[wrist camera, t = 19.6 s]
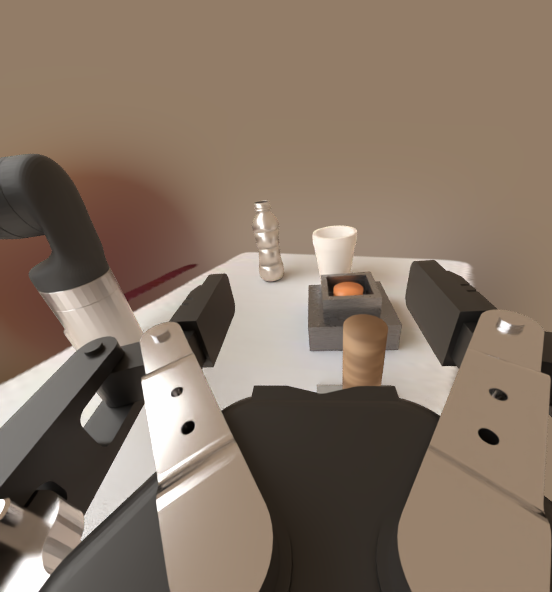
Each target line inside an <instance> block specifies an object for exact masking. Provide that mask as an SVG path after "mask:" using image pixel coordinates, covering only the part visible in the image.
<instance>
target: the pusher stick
mask: <svg viewBox="0 0 552 592" xmlns="http://www.w3.org/2000/svg"><path fill="white" fill-rule="evenodd" d="M387 334H388V326H387V324H386V323H385V322H384V321H383V320H382V319H380V318H378V317H376V316H373V315H368V314H358V315H353V316H351V317H349V318H347V319H346V320H345V321H344V324H343V386H342V389H347V388H351V387H355V386H381V381H382V373H383V366H384V358H385V350H386V342H387Z"/></svg>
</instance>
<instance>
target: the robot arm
mask: <svg viewBox="0 0 552 592" xmlns="http://www.w3.org/2000/svg"><path fill="white" fill-rule="evenodd" d="M41 235H45V236H46V238H47V240H48V242H49V244H50V247H51V249H52V253H51V255H50V256H49V258H48V259H46V260H44V261H43V262H41V263H39V264H37V265H36V266H34V267H33V268H32V269H31V270H30V272H29V277H30V280H31V281H32V283H33V284H34V286H35V287H36V289H37V290H38V291H39V293H40V294H41V296H42V297H43V298H44V300H45V301H46V303H47V304H48V306H49V307H50V308H51V309H52V311H53V312H54V314H55V315H56V317H57V318H58V319H59V321H60V322H61V324H62V325H63V327H64V328H65V330H64V334H65V335H66V337H67V338H68V340H69V341H70V342H71V344H72V345H73V347H74V348H75V349H76V352H75V353H74V354H73V355H72V356H71V357H70V358H69V359H68V360H67V361H66V362H65V363H64V364H63V365H62V366H61V367H60V368H59V369H58V370H57V371H56V372H55V373H54V374H53V375H52V376H51V377H50V378H49V379H48V380H47V381H46V382H45V383H44V384H43V385H42V387H41V388H40V389H39V390H38V391H37V392H36V393H35V394H34V395H33V396H32V397H31V398H30V399H29V400H28V401H27V402H26V403H25V404H24V405H23V406H22V407H21V408H20V409H19V410H18V411H17V412H16V413H15V414H14V415H13V416H12V417H11V418H10V419H9V420H8V421H7V422H6V423H5V424H4V425H3V426H2V427H1V428H0V592H552V501H550V500H549V499H548V498H546V497H545V496H544V483H545V467H546V449H547V433H548V415H550V416H551V417H552V332H545V331H544V329H543V327H542V326H541V325H540V324H539V323H538V322H536V321H535V320H533V319H531V318H529V317H527V316H525V315H522V314H520V313H516V312H512V311H507V310H498V309H497V308H496V307H494V306H493V305H492V304H491V303H490V302H489V301H488V300H487V299H486V298H485V297H483V296H482V295H481V294H480V293H479V292H476V289H475V288H473V287H472V286H471V285H470V284H469V283H468V282H467V281H466V280H465V279H464V278H462V277H461V276H459V275H457V274H455V273H452V272H450V271H446V270H445V269H444V268H443V267H442V266H441V265H439V264H438V263H437V262H436V261H435V260H426V261H414V262H413V263H412V264H411V267H410V273H409V278H408V284H407V289H406V296H405V299H406V305H407V308H408V310H409V311H410V313H411V315H412V316H413V318H414V320H415V321H416V323H417V325H418V326H419V328H420V330H421V331H422V333H423V335H424V337H425V338H426V340H427V342H428V343H429V345H430V347H431V348H432V350H433V352H434V353H435V355H436V357H437V358H438V360H439V362H440V363H441V365H442V366H457V367H458V368H459V371H458V374H457V376H456V379H455V381H454V384H453V386H452V389H451V391H450V394H449V396H448V399H447V401H446V404H445V406H444V409H443V411H442V414H441V416H439V415H438V414H436V413H435V412H433V411H431V410H429V409H427V408H425V407H423V406H421V405H419V404H416V403H414V402H411V401H408V400H405V399H401V398H399V397H398V394H397V391H396V388H395V386H355V387H351V388H347V389H342V390H338V391H333V392H329V393H324V394H320V393H315V392H311V391H307V390H303V389H298V388H294V387H290V386H254V388H253V393H252V397H248V398H245V399H242V400H239V401H237V402H235V403H233V404H231V405H230V406H228V407H226V408H225V409H223V410H222V411H221V410H220V408H219V406H218V404H217V402H216V399H215V397H214V395H213V393H212V391H211V389H210V387H209V385H208V382H207V380H206V378H205V376H204V374H203V372H202V367H214V364H215V362H216V359H217V357H218V354H219V352H220V349H221V347H222V344H223V342H224V339H225V336H226V334H227V331H228V329H229V326H230V324H231V321H232V319H233V316H234V313H235V303H234V298H233V295H232V291H231V287H230V283H229V279H228V276H227V275H226V274H211V275H209V276H208V277H207V278H206V280H205V281H204V283H203V284H202V285H200V286H198V287H197V288H195V289H194V290H192V291H191V292H190V293H189V295H188V296H187V298H186V300H184V302H183V303H182V305H181V306H180V307H179V309H178V310H177V311H176V313H175V314H174V315H173V317H172V318H171V320H170V321H169V322H166V323H161V324H158V325H156V326H154V327H152V328H150V329H149V330H148V331H146V332H145V333H144V334H143V332H142V330H141V328H140V326H139V324H138V322H137V320H136V318H135V316H134V314H133V312H132V310H131V308H130V306H129V304H128V302H127V300H126V298H125V296H124V294H123V292H122V290H121V288H120V287H119V284H118V283H117V281H116V279H115V277H114V275H113V273H112V271H111V269H110V267H109V265H108V263H107V261H106V258H105V255H104V251H103V247H102V244H101V241H100V239H99V237H98V235H97V233H96V230H95V228H94V226H93V224H92V221H91V219H90V217H89V214H88V212H87V210H86V207H85V205H84V202H83V200H82V198H81V196H80V194H79V192H78V190H77V188H76V186H75V185H74V183H73V181H72V180H71V179H70V177H69V175H68V174H67V173H66V172H65V171H64V170H63V168H62V167H61V166H60V165H58V164H57V163H56V162H55V161H53V160H52V159H50V158H48V157H46V156H43V155H39V154H25V155H17V156H10V157H3V158H0V239H21V238H28V237H35V236H41ZM96 392H97V393H98V395H99V396H100V397H101V399H102V402H101V403H100V405H99V406H98V408H97V409H96V410H95V412H94V413H93V415H92V416H91V417H90V419H89V420H88V422H87V423H86V425H85V426H84V427H82V426H81V423H80V418H81V414H82V411H83V409H84V408H85V407H86V405H87V404H88V403H89V401H90V400H91V399H92V397H93V396H94V395H95V393H96ZM144 403H145V406H146V412H147V417H148V423H149V429H150V435H151V441H152V447H153V453H154V459H155V465H156V472H155V473H154V474H153V475H152V476H151V477H150V478H149V479H148V480H147V481H146V482H144V483H143V484H142V485H141V486H140V487H139V488H138V489H137V490H136V491H135V492H134V493H133V494H132V495H131V496H130V497H128V498H127V499H126V500H125V501H124V502H123V503H122V504H121V505H120V506H119V507H118V508H117V509H116V510H115V511H114V512H113V513H111V514H110V515H109V516H108V517H107V518H106V519H105V520H104V521H103V522H102V523H101V524H100V525H99V526H98V527H97V528H95V529H94V530H93V531H92V532H91V533H90V534H89V535H88V536H87V537H86V538H85V539H84V540H83V541H81V540H80V539H81V536H82V533H83V530H84V515H85V513H86V511H87V509H88V507H89V506H90V504H91V502H92V500H93V498H94V496H95V494H96V493H97V491H98V489H99V487H100V485H101V483H102V481H103V480H104V478H105V476H106V474H107V472H108V470H109V468H110V466H111V465H112V463H113V461H114V459H115V457H116V455H117V453H118V452H119V450H120V448H121V446H122V444H123V442H124V440H125V439H126V437H127V435H128V433H129V431H130V429H131V427H132V425H133V424H134V422H135V420H136V418H137V416H138V414H139V412H140V411H141V409H142V407H143V405H144Z"/></svg>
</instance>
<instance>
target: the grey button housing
mask: <svg viewBox="0 0 552 592" xmlns="http://www.w3.org/2000/svg"><path fill="white" fill-rule="evenodd" d="M342 282H355V283H358V284H360V285H361V286H362V287H363V295H350V296H333V288H334V286H335V285H336V284H338V283H342ZM358 314H368V315H373V316H376V317H378V318H380V319H382V320H383V321H384V322H385V323H386V324H387V326H388V334H387V342H386V350H398V345H399V339H400V333H401V327H402V324H401V322H400V320H399V318H398V317H397V315H396V313H395V311H394V309H393V307H392V305H391V303H390V301H389V299H388V297H387V295H386V293H385V291H384V289H383V287H382V285H381V283H380V281H379V282H375V281H374V279H373V277H372V275H371V272H360V273H343V274H327V275H321V285H309V302H308V331H309V344H310V351H337V350H343V324H344V321H345V320H346V319H347V318H349V317H351V316H353V315H358Z"/></svg>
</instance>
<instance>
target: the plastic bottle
mask: <svg viewBox="0 0 552 592" xmlns="http://www.w3.org/2000/svg"><path fill="white" fill-rule="evenodd" d="M254 207H255V209H254V210H255V212H256V216H255V217H254V220H253V222H252V229H253V232H254V235H255V239H256V243H257V247H258V252H259V273H260V276H261V278H262V279H263V280H265V281H276V280H279V279H281V278H282V276H283V275H284V266H283V263H282V260H281V255H280V251H279V222H278V220H277V218H276V217H275V216H274V215H273V214H272V213H271V212H270V209H271V206H270V201H268V200H264V201H258V202H255V203H254Z"/></svg>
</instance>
